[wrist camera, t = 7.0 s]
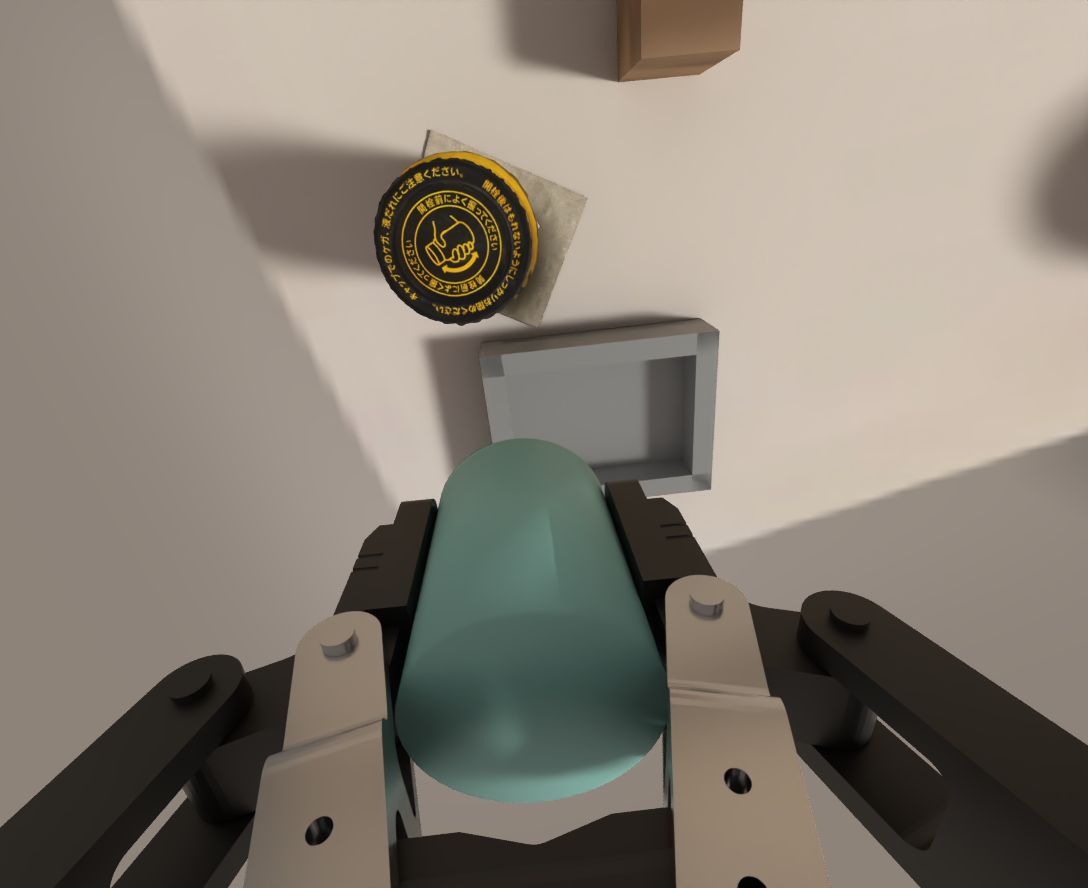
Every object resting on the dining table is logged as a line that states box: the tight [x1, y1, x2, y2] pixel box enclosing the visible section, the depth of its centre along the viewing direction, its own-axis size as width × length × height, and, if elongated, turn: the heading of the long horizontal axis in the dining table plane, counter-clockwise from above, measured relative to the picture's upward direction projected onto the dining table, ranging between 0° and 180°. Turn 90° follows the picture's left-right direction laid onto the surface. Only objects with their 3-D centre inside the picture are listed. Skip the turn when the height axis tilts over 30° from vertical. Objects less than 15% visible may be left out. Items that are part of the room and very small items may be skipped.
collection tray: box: [479, 319, 719, 497], centre depth 31 cm, size 10×13×3 cm
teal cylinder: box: [395, 438, 667, 802], centre depth 10 cm, size 4×4×6 cm
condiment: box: [374, 130, 587, 328], centre depth 23 cm, size 7×8×12 cm
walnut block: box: [617, 0, 743, 82], centre depth 22 cm, size 4×4×5 cm
